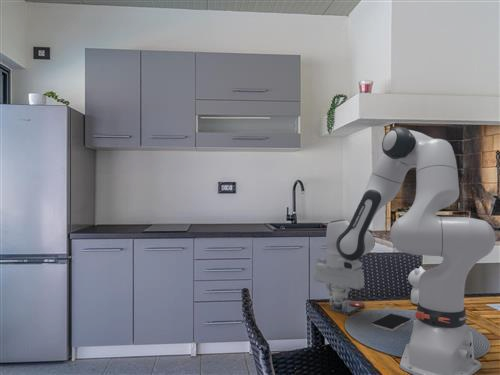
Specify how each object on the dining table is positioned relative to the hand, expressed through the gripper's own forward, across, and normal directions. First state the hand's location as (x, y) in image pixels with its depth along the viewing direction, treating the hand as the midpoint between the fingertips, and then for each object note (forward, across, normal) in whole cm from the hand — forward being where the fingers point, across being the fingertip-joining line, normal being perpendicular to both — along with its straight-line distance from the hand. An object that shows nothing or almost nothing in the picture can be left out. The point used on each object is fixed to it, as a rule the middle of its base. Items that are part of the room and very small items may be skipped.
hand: (338, 296), depth 142 cm
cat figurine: (+5, +24, +28) cm, 37 cm away
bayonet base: (+5, +2, +4) cm, 7 cm away
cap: (+1, 0, 0) cm, 1 cm away
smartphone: (+6, +21, -1) cm, 22 cm away
